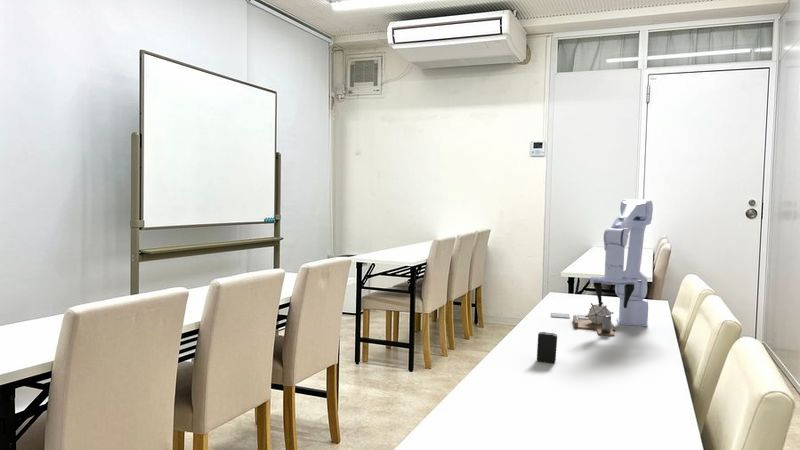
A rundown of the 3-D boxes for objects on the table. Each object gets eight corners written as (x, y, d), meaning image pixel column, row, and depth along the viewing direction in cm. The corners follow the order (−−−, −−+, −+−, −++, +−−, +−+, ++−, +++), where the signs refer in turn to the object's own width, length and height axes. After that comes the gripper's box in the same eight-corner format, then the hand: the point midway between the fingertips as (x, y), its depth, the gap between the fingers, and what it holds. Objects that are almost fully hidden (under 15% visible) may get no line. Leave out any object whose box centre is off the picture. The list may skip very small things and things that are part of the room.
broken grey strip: (595, 317, 223) (595, 315, 223) (597, 320, 217) (597, 319, 217) (551, 314, 227) (551, 312, 227) (551, 317, 221) (551, 316, 221)
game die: (596, 334, 212) (603, 309, 216) (614, 332, 204) (620, 306, 208) (577, 323, 209) (584, 297, 214) (594, 320, 202) (601, 294, 206)
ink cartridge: (555, 361, 167) (557, 333, 166) (554, 364, 165) (556, 335, 164) (537, 359, 169) (539, 331, 168) (536, 361, 167) (538, 333, 166)
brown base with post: (611, 323, 213) (612, 306, 213) (617, 336, 195) (618, 318, 194) (573, 320, 216) (573, 304, 216) (575, 333, 198) (576, 315, 197)
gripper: (591, 265, 193) (590, 307, 194) (640, 268, 190) (638, 310, 191) (590, 262, 200) (588, 303, 201) (636, 265, 197) (634, 306, 198)
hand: (612, 306), depth 196 cm, fingers open, 7 cm apart
